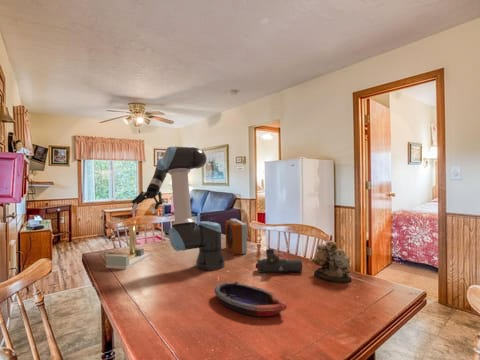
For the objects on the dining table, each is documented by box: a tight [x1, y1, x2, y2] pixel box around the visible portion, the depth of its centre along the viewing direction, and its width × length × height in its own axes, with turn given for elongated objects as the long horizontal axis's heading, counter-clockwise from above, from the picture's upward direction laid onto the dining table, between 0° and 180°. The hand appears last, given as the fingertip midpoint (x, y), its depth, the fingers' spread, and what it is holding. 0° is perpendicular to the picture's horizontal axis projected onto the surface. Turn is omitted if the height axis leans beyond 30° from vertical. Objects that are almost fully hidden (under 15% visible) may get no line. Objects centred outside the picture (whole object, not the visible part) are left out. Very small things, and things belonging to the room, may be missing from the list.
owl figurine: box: [311, 240, 352, 284], centre depth 127 cm, size 18×12×17 cm, turn 53°
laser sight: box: [255, 248, 303, 274], centre depth 135 cm, size 10×22×10 cm, turn 89°
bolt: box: [127, 224, 139, 260], centre depth 156 cm, size 12×3×18 cm, turn 168°
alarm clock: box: [225, 218, 248, 256], centre depth 172 cm, size 18×9×21 cm, turn 17°
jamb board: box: [105, 247, 150, 270], centre depth 153 cm, size 22×12×6 cm, turn 168°
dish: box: [214, 281, 287, 317], centre depth 100 cm, size 16×31×5 cm, turn 50°
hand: (142, 212), depth 166 cm, fingers open, 13 cm apart
